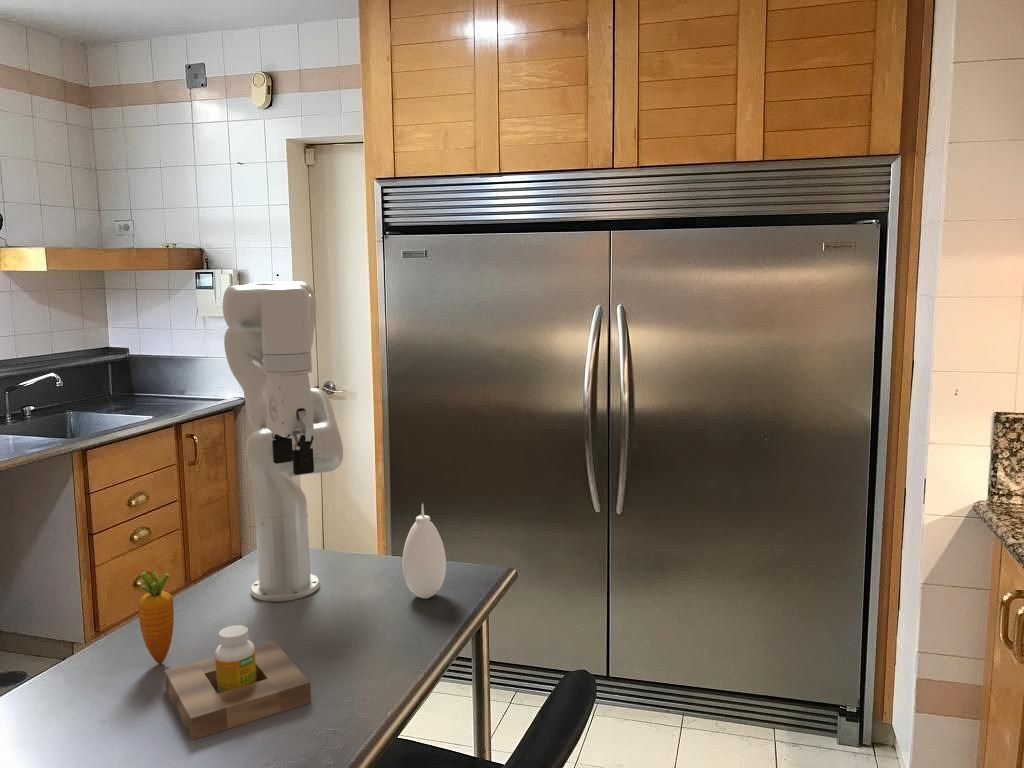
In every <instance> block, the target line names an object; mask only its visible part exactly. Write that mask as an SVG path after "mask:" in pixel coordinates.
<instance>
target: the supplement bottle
mask: <svg viewBox="0 0 1024 768" xmlns="http://www.w3.org/2000/svg"><path fill="white" fill-rule="evenodd" d="M249 634H250V633H249V628H248V627H247V626H245V625H240V624H238V625H230V626H226V627H225V628H222V629H221V630H220V631H219V632H218V642H219V645H217V647H216V649H215V651H214V657H215V663H216V677H217V690H216V692H217V694H218V693H221V692H224V691H228V690H231V689H235V688H238V687H242V686H245V685H248V684H252V683H255V682H257V676H256V661H255V647H254V646H255V644H254V643H253V642H252V641H251V640H249V639H250V636H249Z"/></svg>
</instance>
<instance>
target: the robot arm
mask: <svg viewBox="0 0 1024 768" xmlns="http://www.w3.org/2000/svg"><path fill="white" fill-rule="evenodd" d="M317 311H318V310H317V298H316V295H315V291H314V290H313V288H312V287H311V286H310V285H309V284H308V283H307V282H304V281H258V282H254V283H248V284H243V285H242V284H241V285H240V284H239V285H230V286H228V287H227V288H226V289H225V290H224V294H223V298H222V313H223V314H222V315H223V317H224V322H225V323H226V325H227V330H226V331H225V332H224V333H225V334H224V338H223V339H224V340H223V344H224V352H225V357H226V360H227V364H228V366H229V369H230V371H231V373H232V375H233V377H234V378H235V380H236V381H237V383H238V384H239V386H240V387H241V390H242V392H243V396H244V401H245V408H246V412H247V413H246V414H247V417H248V418H247V419H248V423H249V425H250V428H251V430H252V433H251V434H250V435H249V436H248V438H247V440H246V443H245V453H246V460H247V465H248V470H249V472H250V478H251V484H252V494H253V502H254V503H253V505H254V506H253V508H254V518H255V519H254V520H255V536H256V538H255V539H256V549H257V550H256V555H257V572H258V580H256V581H254V582H253V583H252V584H251V586H250V593H251V595H252V597H253V598H255V599H257V600H260V601H264V602H272V603H273V602H274V603H275V602H287V601H293V600H298V599H302V598H305V597H306V596H310V595H312V594H313V593H314V592H316V591H317V590H318V589H319V587H320V579H319V577H318V576H317V575H315V574H312V573H311V561H310V560H311V559H310V539H309V538H310V537H309V521H308V519H309V518H308V502H307V498H306V495H305V492H304V491H303V490H302V488H301V487H299V486H298V484H297V483H295V482H294V481H293V480H292V478H293V477H299V476H305V475H317V474H323V473H329V472H333V471H335V470H337V469H338V468H339V467H341V464H342V462H343V459H344V445H343V441H342V438H341V436H342V435H341V433H340V429H339V426H338V423H337V419H336V416H335V413H334V408H333V405H332V402H331V400H330V397H329V395H328V394H327V393H326V392H325V391H324V390H323V389H321V388H318V387H311V383H310V382H311V381H310V377H309V374H311V373H313V364H312V363H313V362H312V361H313V360H312V348H313V344H314V343H313V342H314V334H315V327H316V320H317Z"/></svg>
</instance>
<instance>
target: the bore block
mask: <svg viewBox="0 0 1024 768" xmlns="http://www.w3.org/2000/svg"><path fill="white" fill-rule="evenodd" d="M254 647H255V661H256V676H257V682H255V683H252V684H248V685H245V686H242V687H238V688H235V689H231V690H228V691H224V692H221V693H217V677H216V663H215V656H213V657H207V658H205V659H201V660H197V661H194V662H190V663H185V664H181V665H178V666H175V667H171V668H166V669H164V683H165V690H166V692H167V695H168V696H169V698H170V700H171V702H172V703H173V707H174V708H175V710H176V712H177V714H178V716H179V717H180V720H181V722H182V723H183V725H184V726H185V729H186V731H187V733H188V735H189V736H190V739H191V740H192V741H194V740H198V739H201V738H203V737H206V736H210V735H213V734H215V733H219V732H222V731H225V730H228V729H232V728H235V727H238V726H241V725H245V724H247V723H250V722H253V721H256V720H260V719H263V718H267V717H270V716H272V715H276V714H278V713H282V712H284V711H285V712H286V711H288V710H292V709H294V708H298V707H301V706H304V705H307V704H310V703H312V692H311V682H310V680H309V679H308V678H307V677H306V676H305V674H304V673H303V672H302V671H300V669H299V668H298V667H297V666H296V665H295V664H294V662H293V661H292V660H291V659H290V658H289V657H288V656H287V654H286V653H285V652H284V651H283V650H282V649H281V648H280V647H279V646H278V644H277V643H276V642H275V641H274V640H272V641H268V642H264V643H261V644H257V645H254Z"/></svg>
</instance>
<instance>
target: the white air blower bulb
mask: <svg viewBox="0 0 1024 768" xmlns="http://www.w3.org/2000/svg"><path fill="white" fill-rule="evenodd" d="M420 509H421V510H420V511H421V514H419V515H418V516H416V518H415V522H414V523H413V524H412V526H411V528H410V530H409V531H408V534H407V537H406V539H405V542H404V547H403V553H402V574H403V579H404V581H405V583H406V585H407V588H408V589H409V590H410V592H411V593H412V594H415V596H416V597H417V598H420V599H430V598H431V597H433V596H434V595H435V594H436V593H437V592H438V591H440V589H441V587H442V585H443V583H444V581H445V578H446V577H445V576H446V571H447V558H446V550H445V546H444V543H443V541H442V537H441V536H440V533H439V531H438V529H437V527H436V526H435V525H434V523H433V522H432V521H431V517H430V516H429V515H425V508H424V503H423V502H422V503H421V508H420Z"/></svg>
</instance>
